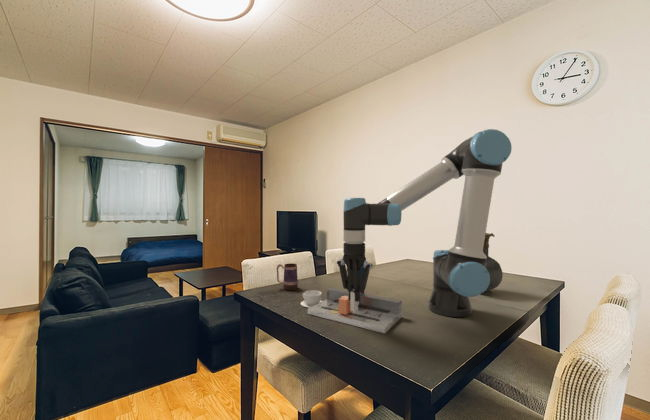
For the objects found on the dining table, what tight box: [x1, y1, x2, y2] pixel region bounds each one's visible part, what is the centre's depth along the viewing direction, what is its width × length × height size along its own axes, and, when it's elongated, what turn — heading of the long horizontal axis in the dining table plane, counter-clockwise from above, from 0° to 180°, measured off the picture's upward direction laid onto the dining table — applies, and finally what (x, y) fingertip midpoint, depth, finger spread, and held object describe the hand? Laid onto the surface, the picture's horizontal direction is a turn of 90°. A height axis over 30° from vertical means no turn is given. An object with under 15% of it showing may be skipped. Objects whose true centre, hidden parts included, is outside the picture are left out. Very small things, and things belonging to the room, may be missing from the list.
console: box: [307, 287, 403, 334], centre depth 105 cm, size 30×16×6 cm, turn 57°
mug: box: [276, 263, 299, 291], centre depth 140 cm, size 10×7×12 cm
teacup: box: [300, 289, 323, 308], centre depth 118 cm, size 10×10×5 cm
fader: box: [339, 296, 351, 315], centre depth 102 cm, size 3×4×5 cm
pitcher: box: [480, 229, 503, 296], centre depth 134 cm, size 11×19×30 cm, turn 18°
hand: (354, 309), depth 100 cm, fingers closed
